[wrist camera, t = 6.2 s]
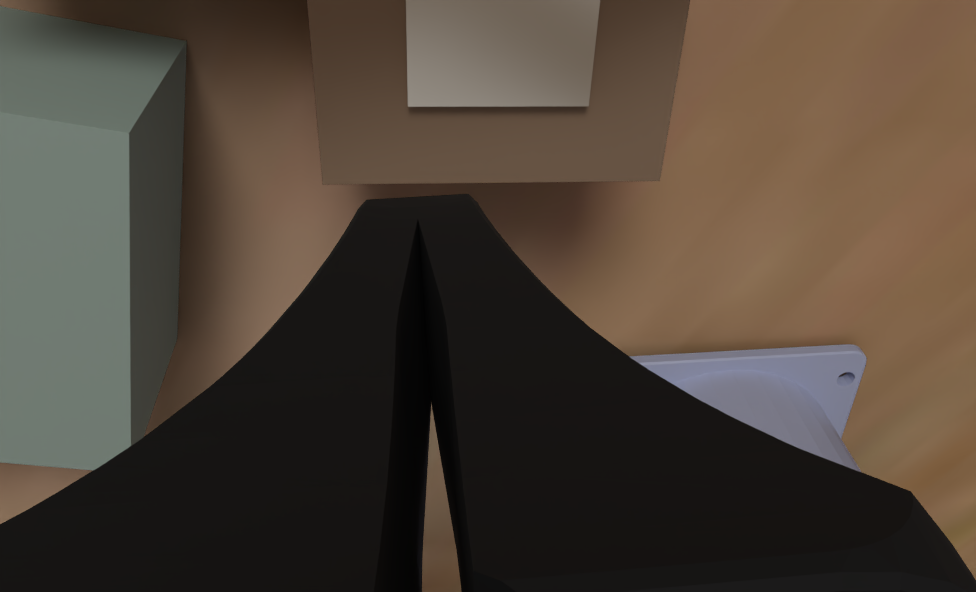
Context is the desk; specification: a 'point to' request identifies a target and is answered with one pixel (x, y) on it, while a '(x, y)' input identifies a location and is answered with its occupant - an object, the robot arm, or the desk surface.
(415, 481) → the robot arm
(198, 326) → the desk surface
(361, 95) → the walnut block
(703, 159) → the desk surface
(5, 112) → the sage block
